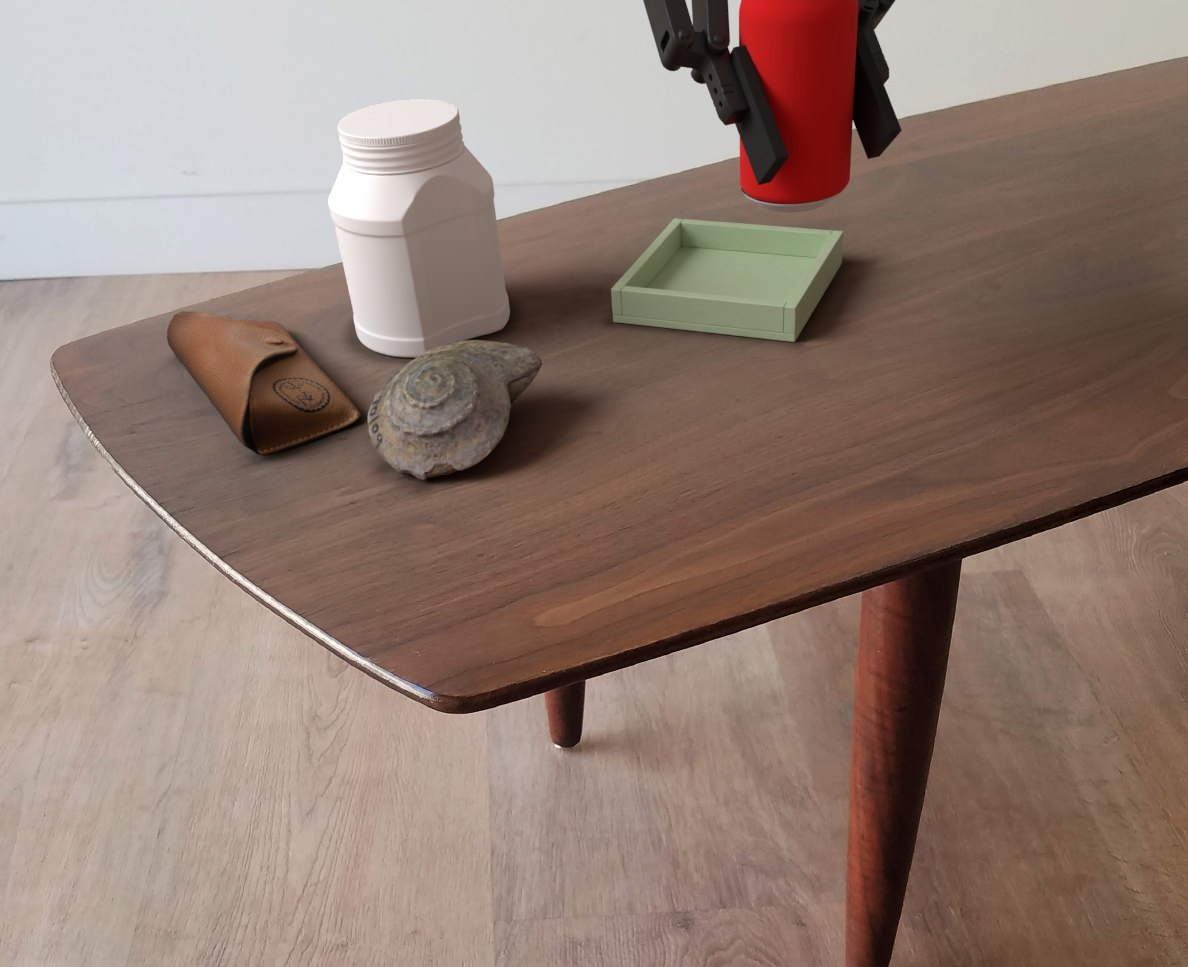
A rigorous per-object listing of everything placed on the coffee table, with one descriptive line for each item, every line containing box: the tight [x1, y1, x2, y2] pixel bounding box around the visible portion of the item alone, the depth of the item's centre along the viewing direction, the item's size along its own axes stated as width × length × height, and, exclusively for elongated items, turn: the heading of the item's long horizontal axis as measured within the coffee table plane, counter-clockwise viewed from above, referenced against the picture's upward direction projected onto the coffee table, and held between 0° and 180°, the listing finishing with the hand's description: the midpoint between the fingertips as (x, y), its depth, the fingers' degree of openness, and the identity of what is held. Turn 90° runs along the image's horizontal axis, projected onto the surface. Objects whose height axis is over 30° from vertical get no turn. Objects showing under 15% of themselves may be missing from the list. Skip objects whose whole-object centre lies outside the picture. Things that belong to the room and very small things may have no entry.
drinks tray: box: [610, 217, 844, 343], centre depth 91 cm, size 14×14×3 cm
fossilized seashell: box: [367, 339, 543, 481], centre depth 77 cm, size 11×11×7 cm
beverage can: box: [738, 0, 858, 213], centre depth 67 cm, size 6×6×12 cm
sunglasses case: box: [166, 310, 362, 456], centre depth 84 cm, size 18×7×7 cm
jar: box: [327, 98, 511, 359], centre depth 87 cm, size 12×10×15 cm
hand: (829, 157), depth 66 cm, fingers closed on beverage can, 6 cm apart
